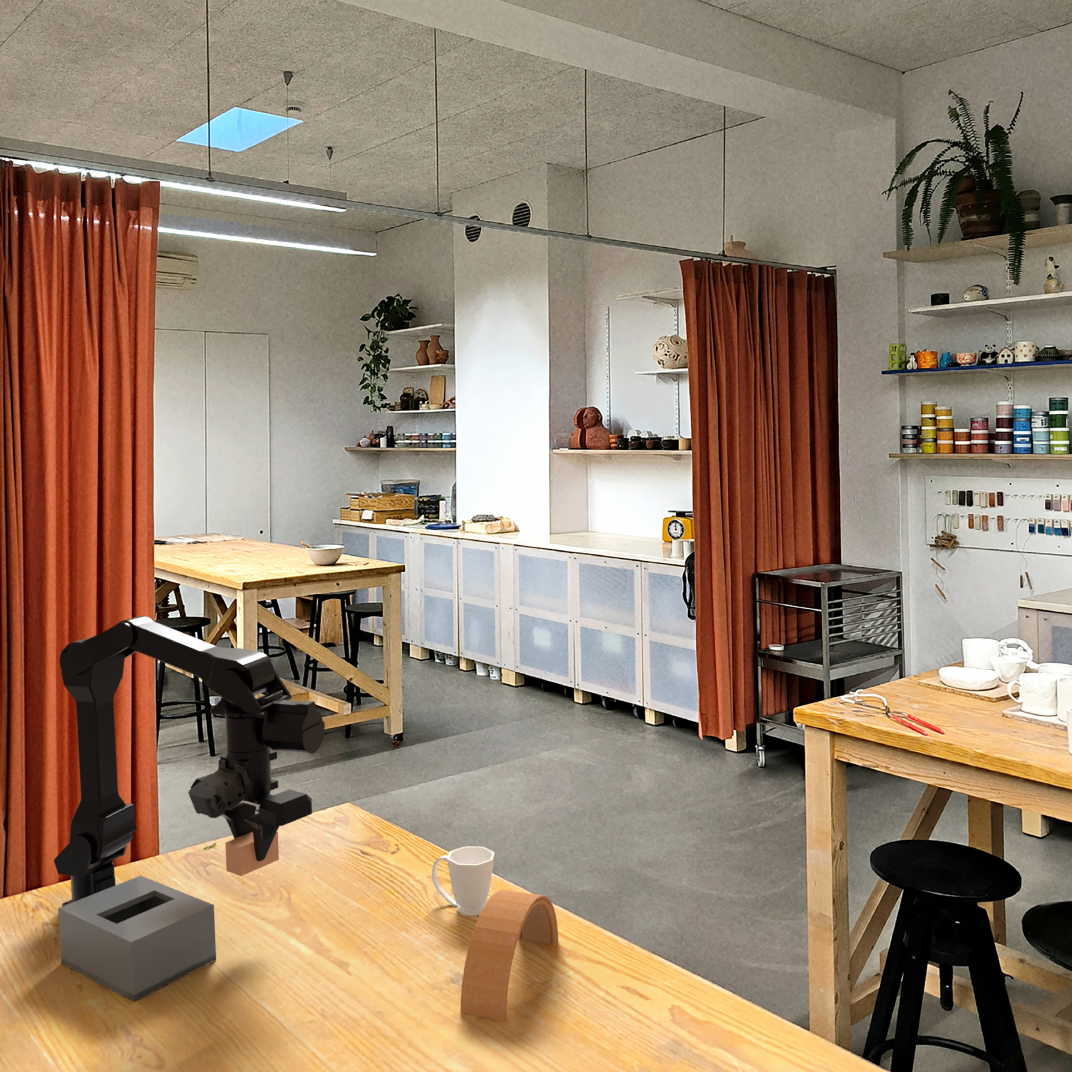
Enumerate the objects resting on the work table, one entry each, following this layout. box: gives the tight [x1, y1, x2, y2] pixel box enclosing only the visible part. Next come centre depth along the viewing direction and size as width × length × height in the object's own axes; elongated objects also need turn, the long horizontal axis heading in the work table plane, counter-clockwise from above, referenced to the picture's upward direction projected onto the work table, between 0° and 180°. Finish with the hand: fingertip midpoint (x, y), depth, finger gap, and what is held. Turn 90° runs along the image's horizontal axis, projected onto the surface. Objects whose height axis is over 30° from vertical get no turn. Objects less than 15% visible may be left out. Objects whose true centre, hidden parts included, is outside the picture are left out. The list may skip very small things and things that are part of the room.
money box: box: [57, 875, 217, 1002], centre depth 134 cm, size 16×12×8 cm
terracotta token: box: [225, 831, 280, 877], centre depth 141 cm, size 3×6×4 cm, turn 145°
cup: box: [431, 845, 495, 917], centre depth 149 cm, size 7×10×8 cm
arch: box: [460, 889, 559, 1021], centre depth 130 cm, size 6×20×10 cm, turn 160°
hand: (252, 857), depth 141 cm, fingers closed on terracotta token, 3 cm apart
